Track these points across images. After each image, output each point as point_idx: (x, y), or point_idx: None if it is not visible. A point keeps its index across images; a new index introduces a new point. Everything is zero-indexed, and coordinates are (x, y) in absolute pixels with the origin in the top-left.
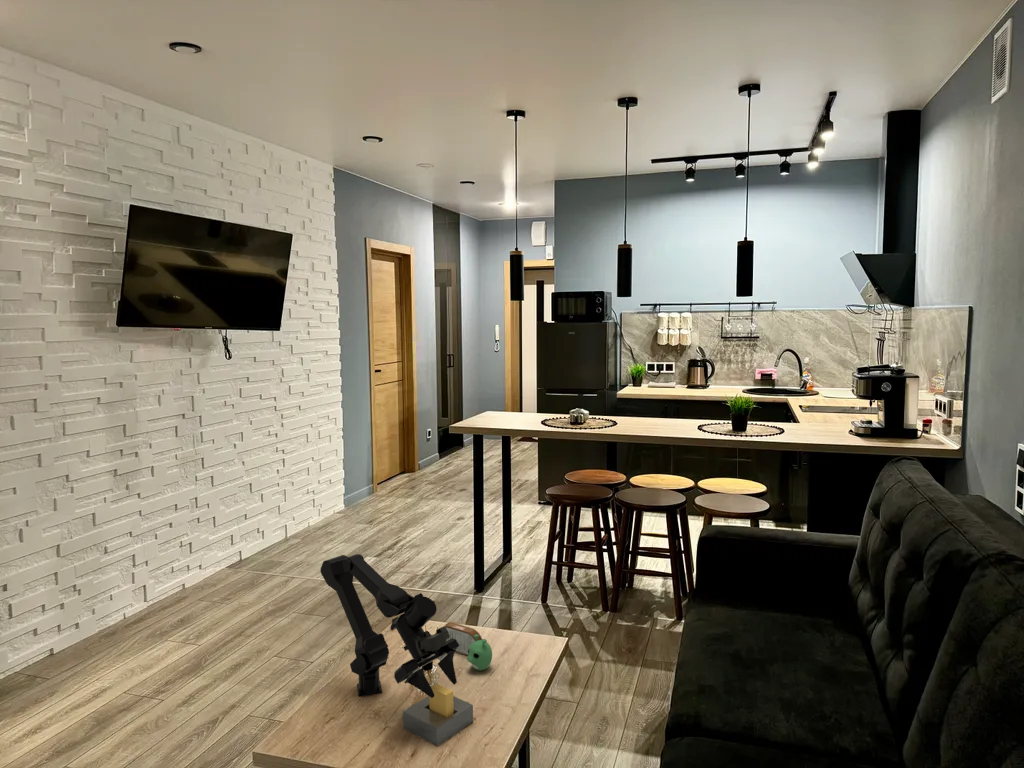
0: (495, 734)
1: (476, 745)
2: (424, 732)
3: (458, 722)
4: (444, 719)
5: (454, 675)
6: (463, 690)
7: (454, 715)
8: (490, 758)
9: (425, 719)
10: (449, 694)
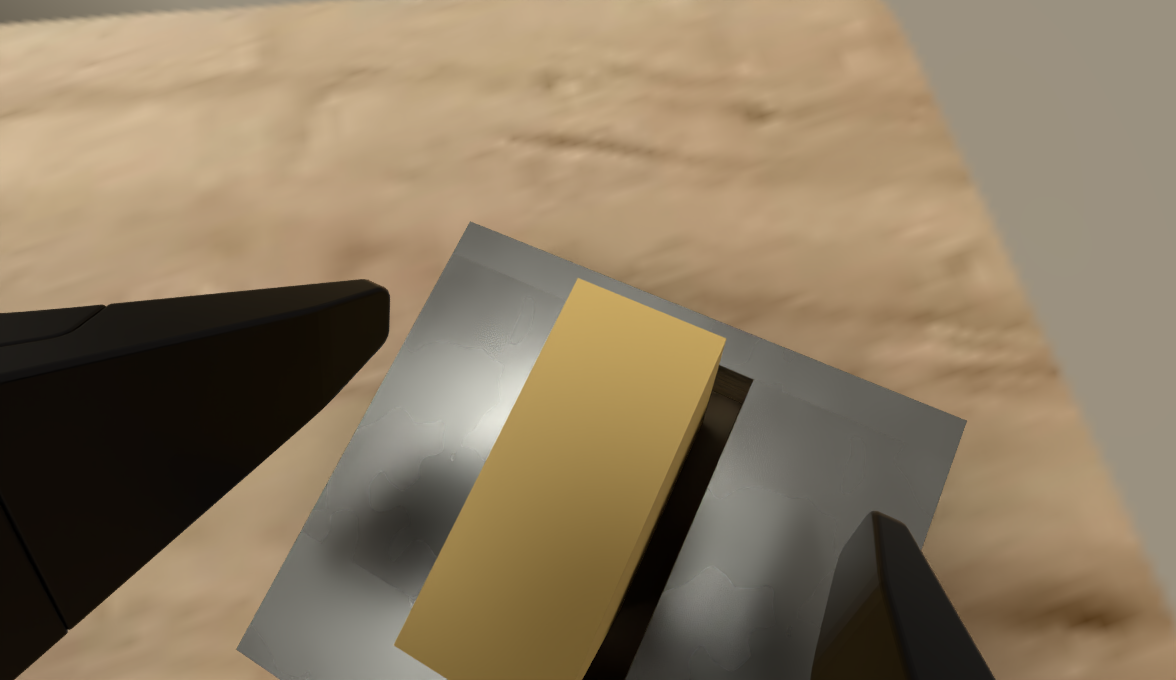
0: (627, 96)
1: (786, 167)
2: None
3: None
4: (779, 397)
5: (272, 299)
6: None
7: None
8: (896, 41)
9: None
10: (657, 315)
